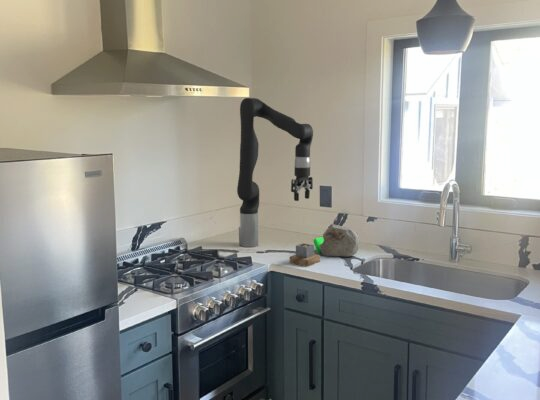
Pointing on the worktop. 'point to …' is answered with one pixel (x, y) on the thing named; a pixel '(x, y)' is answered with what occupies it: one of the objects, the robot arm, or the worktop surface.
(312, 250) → the link
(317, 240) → the bracket
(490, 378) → the worktop surface
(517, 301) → the worktop surface
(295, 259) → the keeper
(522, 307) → the worktop surface
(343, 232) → the stone
